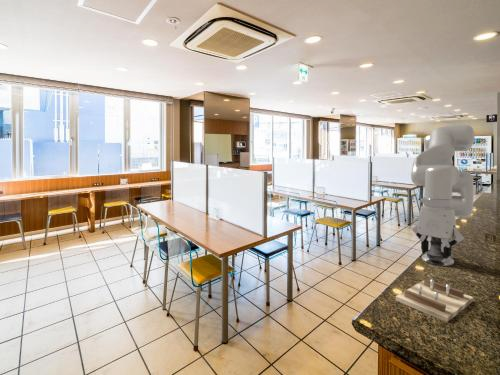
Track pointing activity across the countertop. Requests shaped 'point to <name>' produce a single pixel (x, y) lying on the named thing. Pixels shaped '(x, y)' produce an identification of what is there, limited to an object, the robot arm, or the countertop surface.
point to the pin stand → (435, 299)
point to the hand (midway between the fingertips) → (435, 254)
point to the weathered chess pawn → (435, 252)
